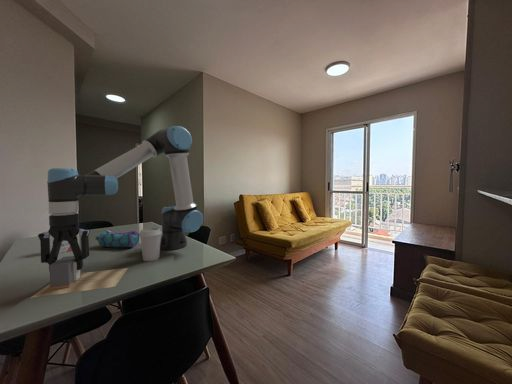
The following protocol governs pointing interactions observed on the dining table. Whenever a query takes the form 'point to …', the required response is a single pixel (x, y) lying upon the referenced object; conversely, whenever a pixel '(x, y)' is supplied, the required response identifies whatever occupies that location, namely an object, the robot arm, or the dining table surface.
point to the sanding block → (62, 273)
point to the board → (87, 282)
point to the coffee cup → (150, 243)
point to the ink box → (65, 247)
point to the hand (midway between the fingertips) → (66, 279)
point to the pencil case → (118, 239)
